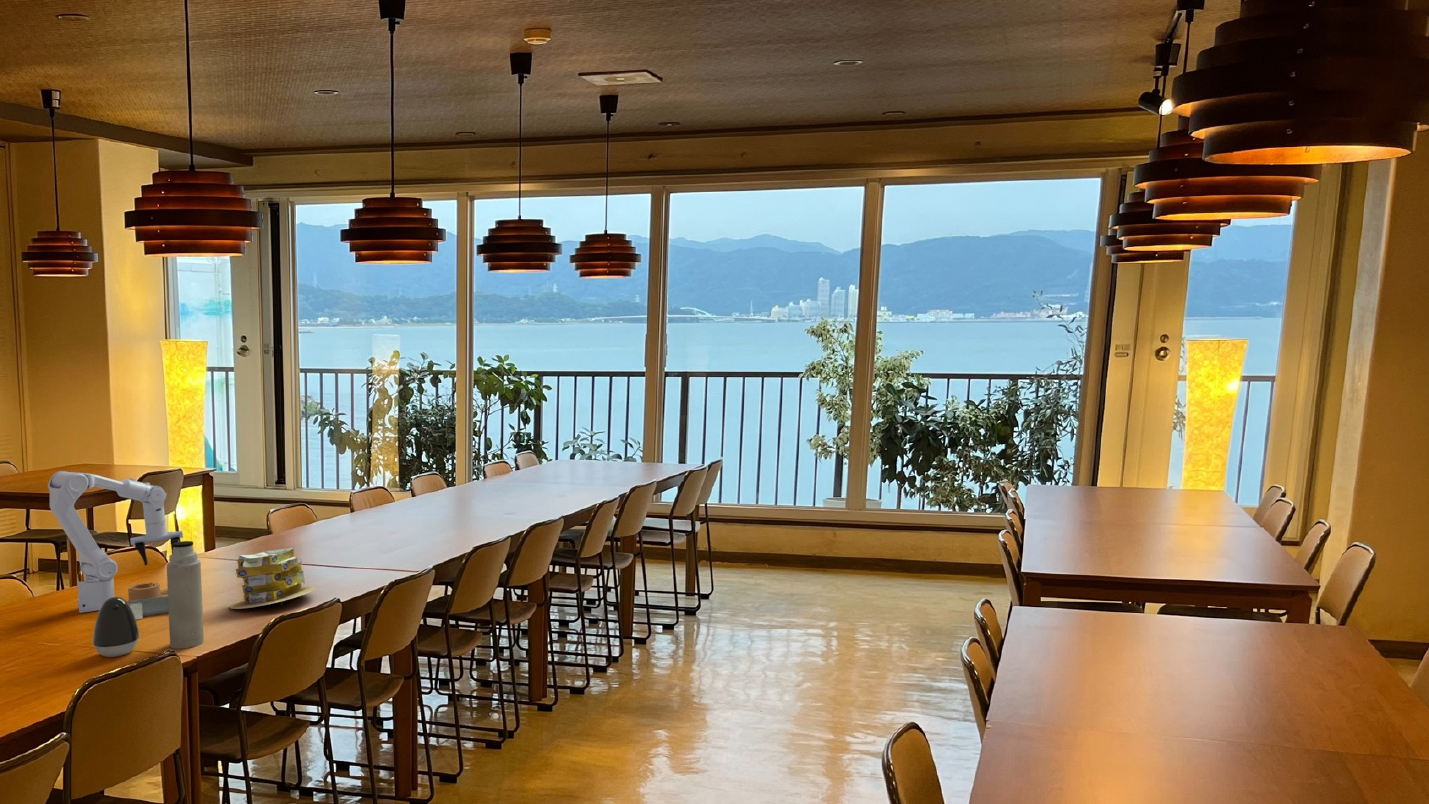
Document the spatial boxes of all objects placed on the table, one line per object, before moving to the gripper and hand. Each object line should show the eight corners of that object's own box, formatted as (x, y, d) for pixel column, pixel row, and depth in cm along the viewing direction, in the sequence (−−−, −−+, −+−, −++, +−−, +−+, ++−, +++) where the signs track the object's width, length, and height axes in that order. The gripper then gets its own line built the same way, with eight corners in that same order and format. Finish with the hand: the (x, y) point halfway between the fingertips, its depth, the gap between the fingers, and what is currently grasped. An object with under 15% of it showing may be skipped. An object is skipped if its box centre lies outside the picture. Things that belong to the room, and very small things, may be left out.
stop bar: (130, 620, 272) (129, 603, 271) (130, 616, 275) (129, 600, 275) (196, 611, 281) (195, 594, 281) (195, 607, 285) (194, 591, 284)
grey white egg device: (94, 663, 235) (91, 605, 234) (92, 652, 244) (90, 596, 243) (141, 655, 241) (138, 598, 240) (138, 644, 250) (135, 589, 249)
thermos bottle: (180, 639, 254) (175, 539, 252) (209, 638, 254) (205, 538, 253) (163, 648, 246) (159, 545, 244) (194, 648, 246) (189, 545, 245)
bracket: (143, 612, 280) (142, 590, 280) (122, 610, 283) (121, 588, 282) (193, 597, 297) (192, 576, 297) (173, 595, 300) (172, 574, 299)
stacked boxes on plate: (210, 610, 282) (208, 556, 281) (272, 589, 306) (270, 539, 305) (275, 617, 275) (273, 562, 274) (333, 595, 298) (331, 544, 297)
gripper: (180, 515, 306) (185, 555, 308) (129, 522, 299) (134, 563, 301) (180, 520, 300) (185, 560, 302) (128, 527, 293) (133, 568, 295)
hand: (160, 562), depth 301 cm, fingers open, 7 cm apart
